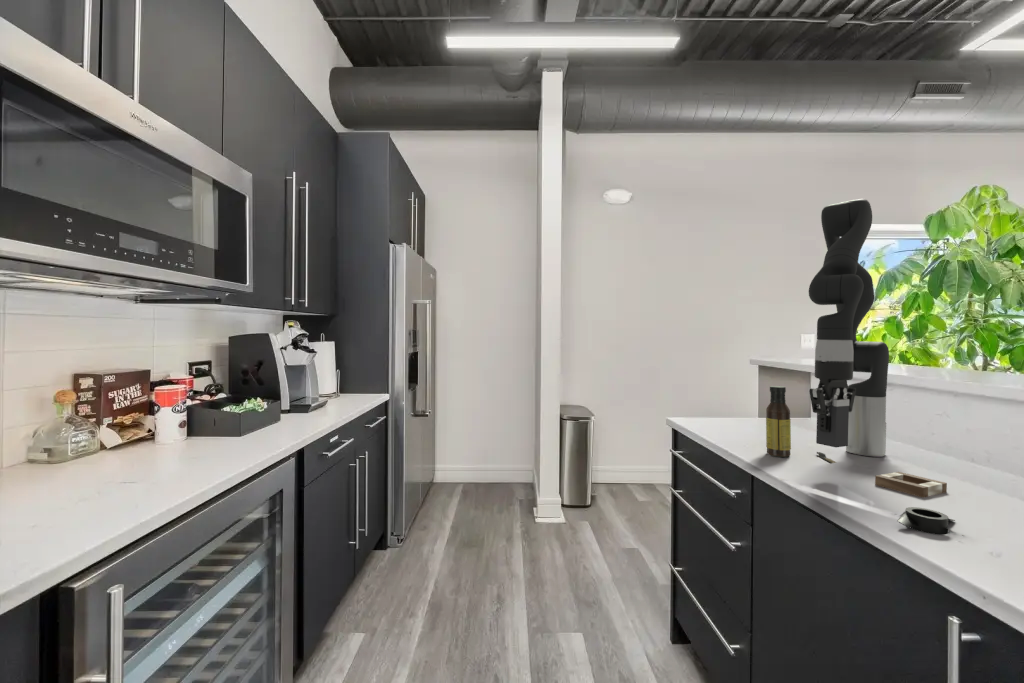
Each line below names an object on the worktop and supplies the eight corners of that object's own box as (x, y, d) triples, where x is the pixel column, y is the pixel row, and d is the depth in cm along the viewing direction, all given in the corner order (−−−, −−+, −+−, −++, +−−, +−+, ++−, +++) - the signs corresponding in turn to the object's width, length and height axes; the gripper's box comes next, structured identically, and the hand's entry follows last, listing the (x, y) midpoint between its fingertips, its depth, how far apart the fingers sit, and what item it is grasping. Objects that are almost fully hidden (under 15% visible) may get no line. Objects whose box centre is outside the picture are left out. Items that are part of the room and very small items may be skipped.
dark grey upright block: (828, 441, 114) (829, 396, 114) (848, 446, 110) (849, 399, 110) (815, 443, 113) (817, 397, 112) (835, 447, 108) (836, 400, 108)
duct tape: (884, 517, 90) (884, 502, 90) (951, 525, 86) (951, 510, 86) (900, 532, 83) (900, 516, 83) (973, 542, 79) (974, 525, 79)
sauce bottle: (790, 454, 137) (792, 386, 137) (790, 458, 132) (792, 388, 132) (765, 451, 140) (767, 384, 140) (764, 455, 135) (766, 386, 135)
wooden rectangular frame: (898, 484, 110) (898, 471, 110) (946, 496, 101) (946, 482, 101) (875, 489, 106) (875, 475, 106) (923, 502, 98) (923, 487, 98)
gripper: (836, 358, 118) (835, 426, 118) (798, 358, 112) (796, 430, 112) (869, 359, 111) (867, 432, 111) (830, 360, 105) (828, 436, 105)
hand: (832, 430), depth 111 cm, fingers closed on dark grey upright block, 4 cm apart
